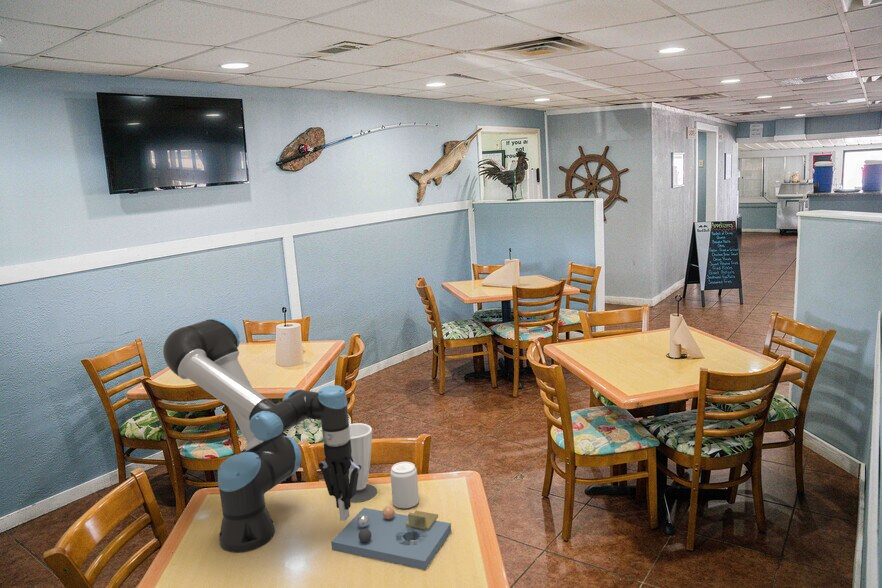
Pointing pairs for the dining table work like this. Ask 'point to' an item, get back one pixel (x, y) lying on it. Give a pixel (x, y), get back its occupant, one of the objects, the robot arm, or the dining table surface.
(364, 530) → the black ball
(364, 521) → the steel ball
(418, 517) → the brass cover
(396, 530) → the grey flat board
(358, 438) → the cup
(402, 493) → the beverage can
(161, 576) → the dining table surface
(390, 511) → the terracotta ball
